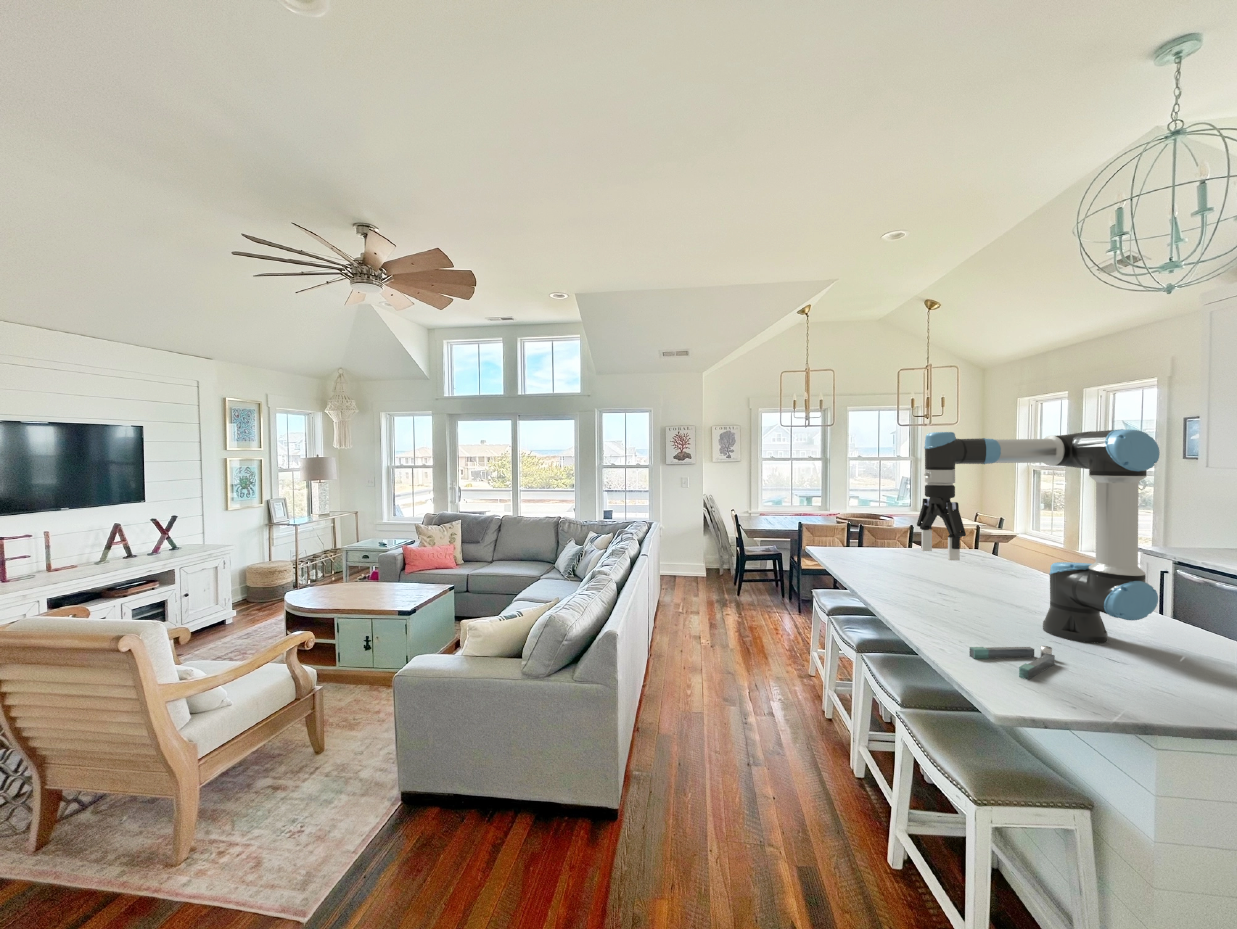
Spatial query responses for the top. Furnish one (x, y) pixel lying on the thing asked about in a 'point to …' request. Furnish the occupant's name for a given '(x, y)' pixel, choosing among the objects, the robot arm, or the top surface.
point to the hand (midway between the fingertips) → (939, 555)
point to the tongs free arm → (1036, 666)
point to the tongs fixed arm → (1006, 652)
